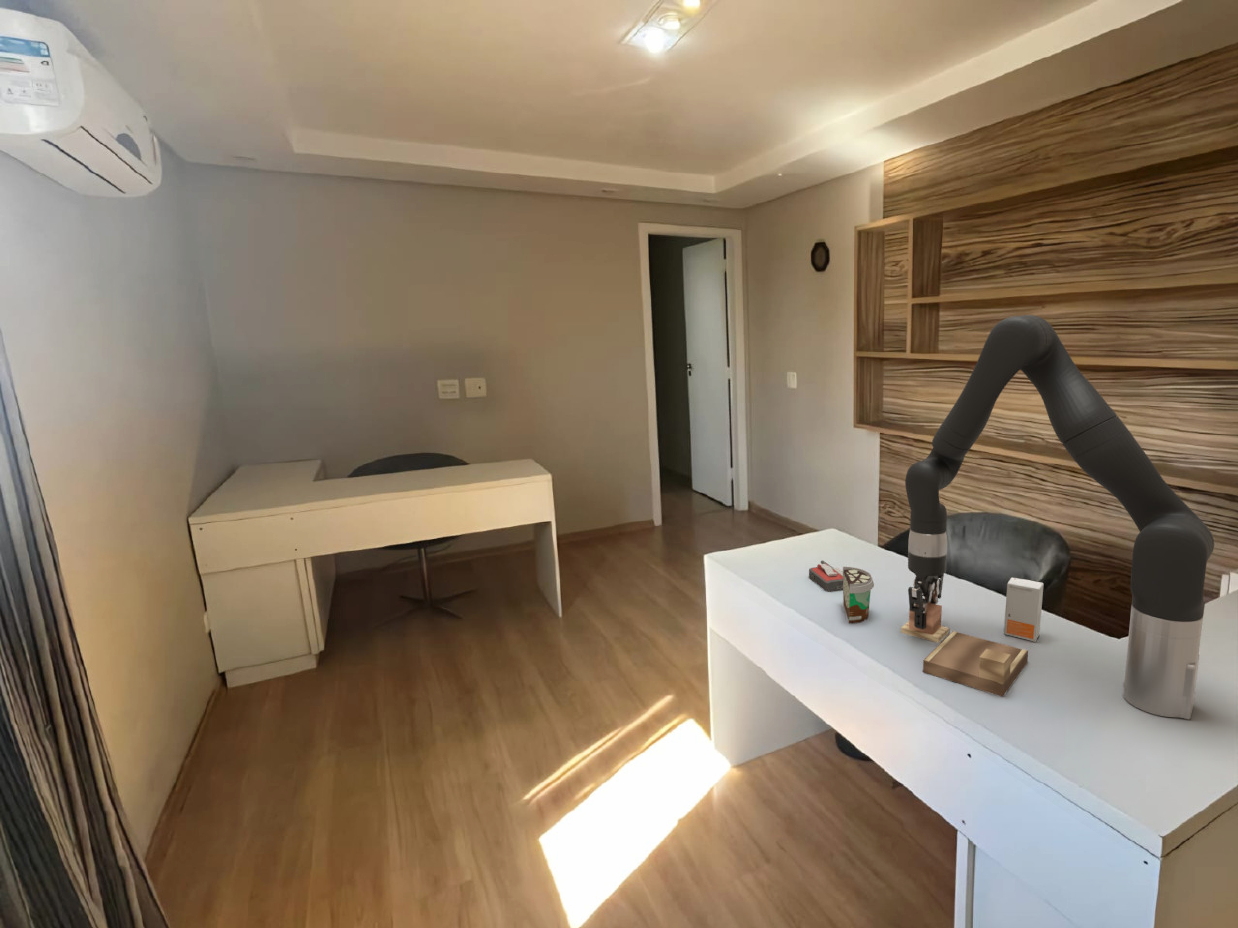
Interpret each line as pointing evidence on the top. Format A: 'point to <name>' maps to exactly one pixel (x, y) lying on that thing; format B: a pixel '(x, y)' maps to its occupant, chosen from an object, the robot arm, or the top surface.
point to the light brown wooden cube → (994, 665)
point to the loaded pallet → (926, 636)
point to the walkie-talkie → (827, 577)
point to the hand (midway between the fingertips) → (925, 622)
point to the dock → (971, 662)
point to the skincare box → (1023, 609)
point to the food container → (856, 593)
